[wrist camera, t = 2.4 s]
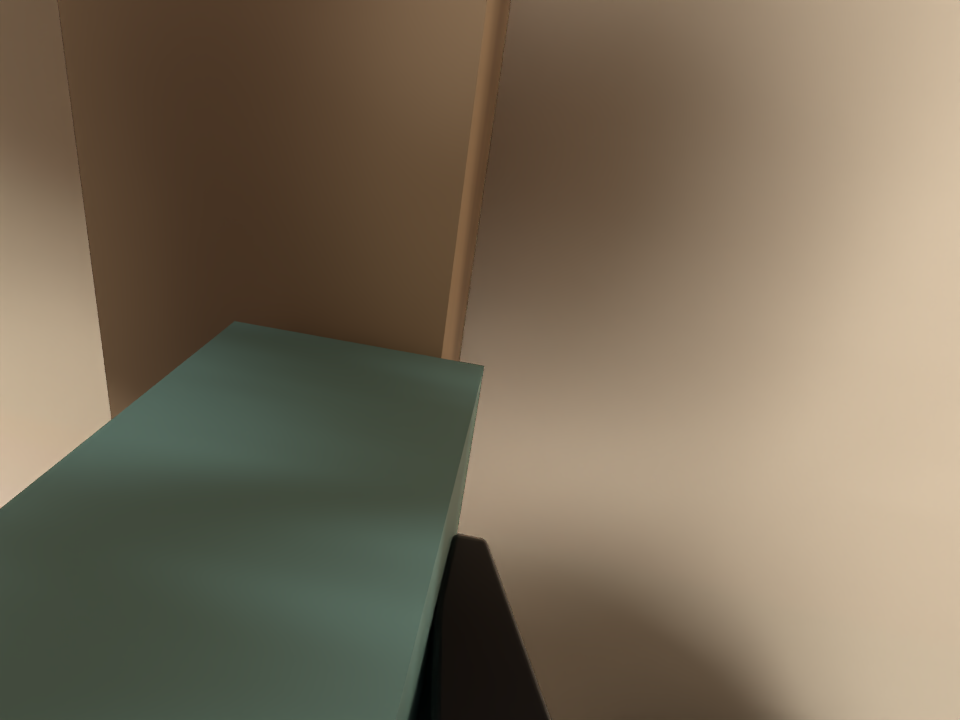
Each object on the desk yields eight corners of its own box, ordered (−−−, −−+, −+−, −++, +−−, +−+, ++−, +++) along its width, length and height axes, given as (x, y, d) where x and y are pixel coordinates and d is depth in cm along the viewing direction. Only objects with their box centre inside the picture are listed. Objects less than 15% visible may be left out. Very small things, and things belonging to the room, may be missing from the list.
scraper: (560, -43, 9) (551, -978, 1) (444, 647, 15) (309, 1329, 7) (190, -100, 9) (-2472, -1244, 1) (222, 603, 15) (-157, 1213, 7)
